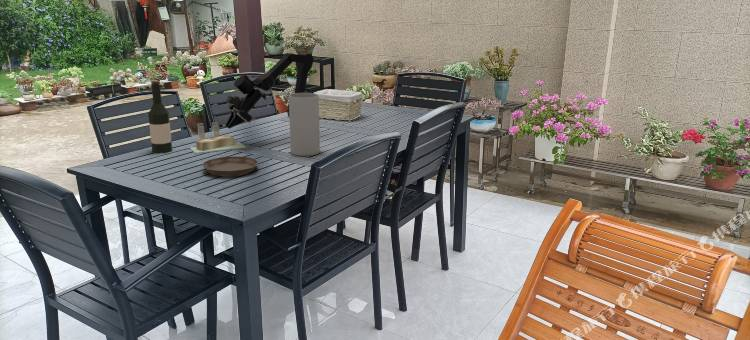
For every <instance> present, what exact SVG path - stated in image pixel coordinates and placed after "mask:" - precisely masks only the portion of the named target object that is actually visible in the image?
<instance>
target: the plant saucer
mask: <svg viewBox="0 0 750 340" xmlns="http://www.w3.org/2000/svg"><path fill="white" fill-rule="evenodd" d="M258 164H259V161H258V160H257V159H256V158H252V157H249V156H248V157H247V156H236V155H235V156H221V157H215V158H212V159H211V158H210V159H208V160H205V161H204V162H203V163H202V167H203V169H204V170H205V171H206V172H208V173H209V174H211V175H213V176H217V177H236V176H237V177H238V176H244V175H247V174H249V172H250V173H252V172H253V171H254V170H255V169H256V168H257V166H258ZM243 174H244V175H243Z"/></svg>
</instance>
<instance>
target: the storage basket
mask: <svg viewBox="0 0 750 340" xmlns="http://www.w3.org/2000/svg"><path fill="white" fill-rule="evenodd" d="M313 93H315V94H318V95H319V119H323V118H326V119H325V120H331V119H339V121H340V120H350V119H353V118H355V117H357V116H359V115H360V116H361V111H362V99H363V97H364V95H363V92H359V91H352V90H344V89H330V88H329V89H328V88H325V89H322V90H317V91H316V92H315V91H314V92H313Z"/></svg>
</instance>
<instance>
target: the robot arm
mask: <svg viewBox="0 0 750 340" xmlns="http://www.w3.org/2000/svg"><path fill="white" fill-rule="evenodd" d="M314 59H315V58H314V56H313V55H312V54H311V53H306V52H299V53H297V54H295V53H292V52H286V53H284V55H283V56H282V57H281V58H280V59H279V60H278V61H277V62H276V63H275V64H274V65H273V66H272V67H271V68H270V69H269V70H267V71H266V72H264V73H261V74H260V75H258V76H257V77H256V78H255V79H253V80H251V79H250V78H249V77H248V75H247V74H242V76H240V77H238V78H237V79H235V81H234V83H233V86H234V87H235V88H236V89H238V91H240V93H241V94H243V95H245V96H244V97H242V96H241V98H240V97H239V96H237V95H235V96H233V95H227V98H226V99H225V102H226V103H228V105H227V108H228V111H229V117H228V118H227V121H226V123H225V127H226V128H228V130H229V129H232V128H234V127H235V126H238V125H241V124H243V123H246V122H248V123H250V122H252V120H253V116H252V115H251V114H250V112H251V110H252V109H253V110H254V109H255V108H256V107H255V106H256V105H257V103H259V102H260V100H261V99H263V100H264V101H266V100H267V97H266V95H267V93H265V92H266V91H267V92H268V91H270V90H271V89H272V88H273V86H274V85H275V83H276V80H277V78H278V77H279V76H280V75H282V73H283V72H284V71H285V70H286V69H287V68H288V67H289V66H290V65H292V64H293V63H295V68H296V71H297V73H296V81H295V87H294V93H306V88H307V81H308V75H309V72H310V71H311V69H312V68H313V63H314V61H315V60H314ZM262 91H264V92H262ZM286 113H287V117H288V119H290V116H289V103H288V104H287V110H286Z"/></svg>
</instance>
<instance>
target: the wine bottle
mask: <svg viewBox="0 0 750 340" xmlns="http://www.w3.org/2000/svg"><path fill="white" fill-rule="evenodd" d="M150 85H151V95H152V106H151V108H150V110H149V111H148V113H147V114H148V124H149V133H150V134H149V135H150V144H151V152H152V153H153V152H154V154H168V153H170V152H171V153H172V152H173V144H172V143H173V142H172V133H171V123H170V122H171V121H170V112H169V110H168V109H167V108H166V106H164V104H163V101H162V91H161V83H160V82H159V81H158V80H154V81H152V82H151V84H150Z"/></svg>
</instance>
